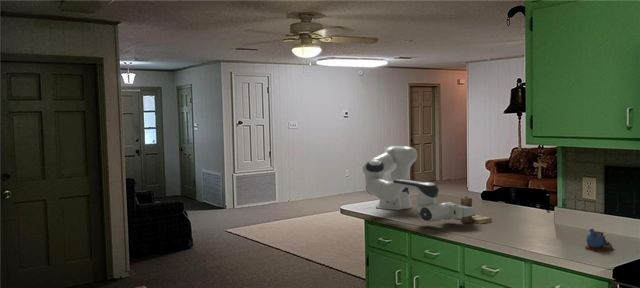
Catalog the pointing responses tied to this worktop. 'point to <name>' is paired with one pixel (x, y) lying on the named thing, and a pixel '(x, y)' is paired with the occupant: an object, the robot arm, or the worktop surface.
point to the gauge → (467, 202)
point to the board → (480, 219)
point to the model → (597, 242)
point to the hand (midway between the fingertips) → (467, 207)
